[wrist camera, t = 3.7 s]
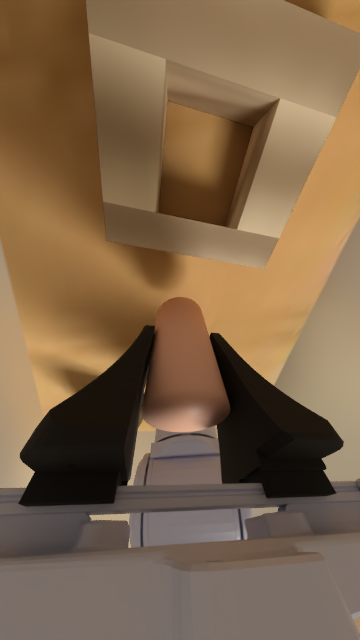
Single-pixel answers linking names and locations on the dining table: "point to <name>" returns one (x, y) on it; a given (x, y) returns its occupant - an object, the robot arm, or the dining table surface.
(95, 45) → the socket block
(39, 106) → the dining table surface
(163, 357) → the peg
